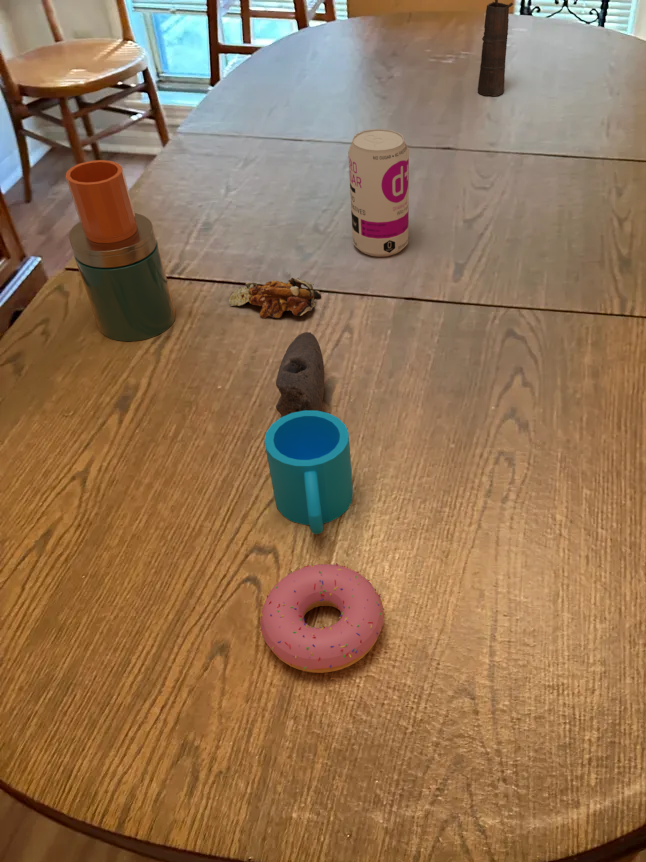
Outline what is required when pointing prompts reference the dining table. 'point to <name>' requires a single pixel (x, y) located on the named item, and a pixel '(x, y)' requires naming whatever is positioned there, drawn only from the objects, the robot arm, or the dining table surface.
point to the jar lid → (114, 246)
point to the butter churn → (494, 49)
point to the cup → (102, 201)
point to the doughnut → (327, 644)
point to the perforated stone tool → (301, 376)
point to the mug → (310, 467)
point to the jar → (130, 298)
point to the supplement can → (379, 191)
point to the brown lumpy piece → (277, 297)
